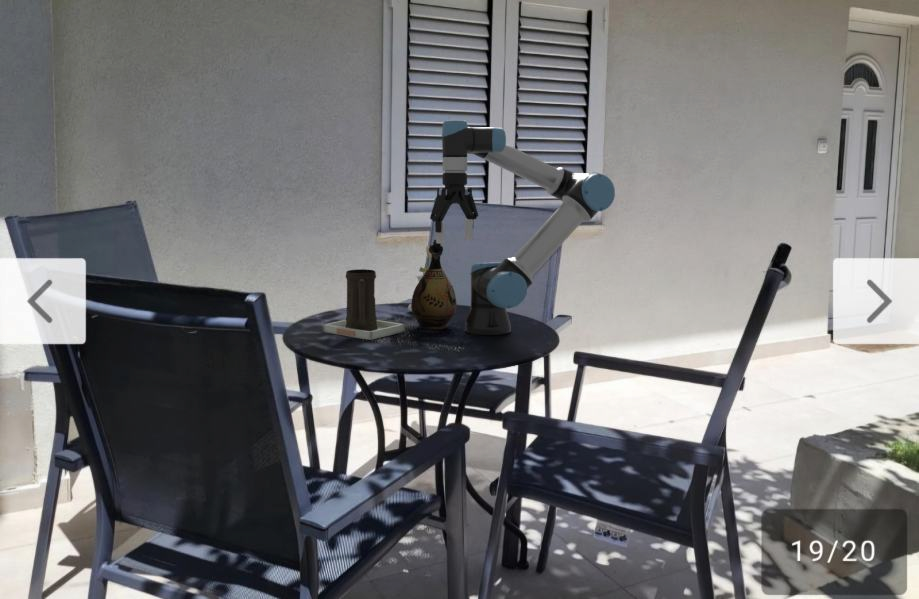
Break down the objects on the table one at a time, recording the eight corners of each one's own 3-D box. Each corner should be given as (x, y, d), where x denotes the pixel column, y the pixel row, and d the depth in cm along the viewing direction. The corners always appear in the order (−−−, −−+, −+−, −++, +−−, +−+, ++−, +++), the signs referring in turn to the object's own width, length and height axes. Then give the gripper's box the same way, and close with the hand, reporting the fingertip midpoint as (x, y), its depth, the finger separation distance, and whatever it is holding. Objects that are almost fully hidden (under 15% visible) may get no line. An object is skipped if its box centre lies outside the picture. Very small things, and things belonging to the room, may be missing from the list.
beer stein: (342, 326, 286) (341, 268, 282) (373, 324, 289) (373, 267, 285) (350, 338, 272) (350, 277, 267) (383, 336, 275) (383, 276, 270)
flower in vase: (424, 316, 310) (424, 248, 306) (401, 312, 317) (401, 246, 313) (446, 311, 321) (447, 245, 317) (423, 308, 327) (423, 243, 323)
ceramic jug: (456, 331, 282) (456, 241, 277) (410, 331, 281) (409, 241, 277) (456, 322, 298) (456, 237, 294) (412, 322, 298) (412, 237, 293)
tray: (358, 324, 294) (358, 317, 293) (404, 331, 281) (404, 324, 281) (322, 332, 280) (322, 324, 279) (369, 340, 268) (369, 332, 267)
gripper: (470, 171, 269) (470, 238, 273) (418, 172, 250) (418, 244, 253) (489, 171, 264) (489, 239, 268) (437, 172, 245) (437, 245, 249)
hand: (454, 241), depth 261 cm, fingers open, 13 cm apart
